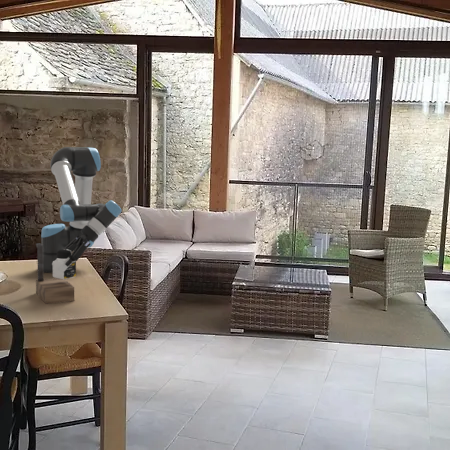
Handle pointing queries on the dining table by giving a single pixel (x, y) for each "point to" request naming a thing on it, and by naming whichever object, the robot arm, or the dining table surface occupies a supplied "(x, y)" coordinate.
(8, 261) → the dining table surface
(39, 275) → the wooden stand
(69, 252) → the medicine bottle
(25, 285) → the dining table surface
